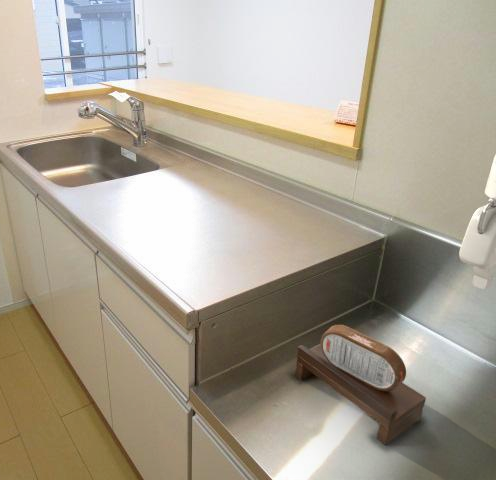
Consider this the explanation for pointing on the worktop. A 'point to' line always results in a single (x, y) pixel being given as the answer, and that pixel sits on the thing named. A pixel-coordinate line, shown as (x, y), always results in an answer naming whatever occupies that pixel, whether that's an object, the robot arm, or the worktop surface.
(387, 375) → the tin
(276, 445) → the worktop surface
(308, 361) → the shelf
